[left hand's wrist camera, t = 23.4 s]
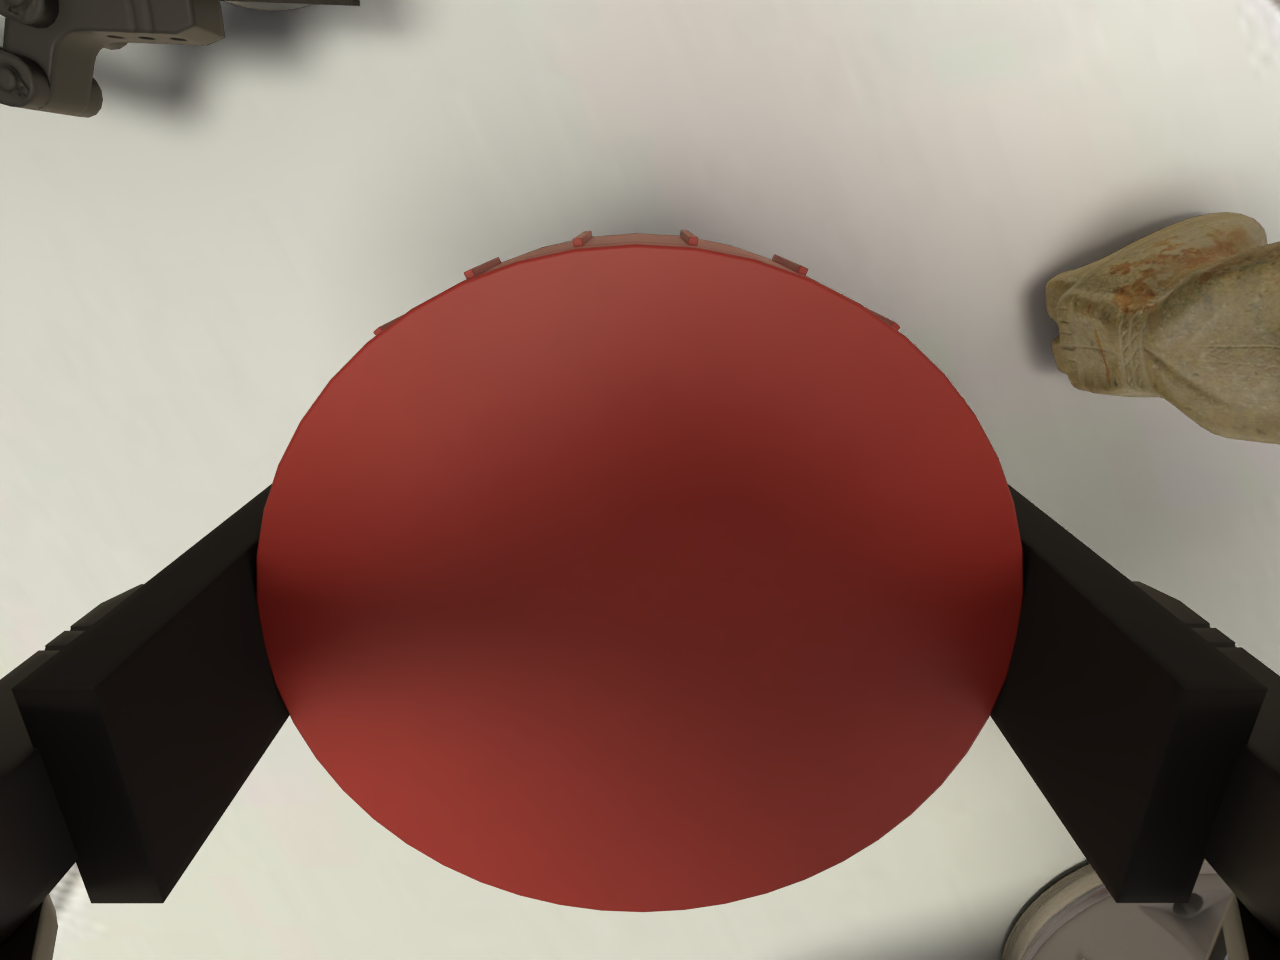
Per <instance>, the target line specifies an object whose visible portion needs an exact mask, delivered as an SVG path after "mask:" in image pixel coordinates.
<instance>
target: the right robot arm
mask: <svg viewBox="0 0 1280 960" xmlns="http://www.w3.org/2000/svg"><path fill="white" fill-rule="evenodd" d="M220 1H241V2H269V3H296V4H324V5H351V6H360V1H359V0H0V14H1V15H3V16H4V17H5V29H4V41H3V47H0V103H1V104H4V105H8V106H12V107H19V108H25V109H32V110H38V111H45V112H51V113H58V114H64V115H71V116H78V117H91V116H94V115H96V114H97V113H98V112H99V110H100V109H101V106H102V101H103V98H102V92H101V89H100V87H99V85H98V83H97V81H96V80H95V79H94V78H93V70H94V63H95V59H96V56H97V54H98V52H99V51H100V50H101V49H102V48H103V47H104V48H107V49H111V50H114V49H120V48H122V47H123V46H125V45H126V44H127V42H130V43H157V44H187V45H209V44H211V43H213V42H216V41H218V40H220V39H222V38H225V33H224V26H223V19H222V12H221V5H220Z"/></svg>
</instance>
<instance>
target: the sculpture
mask: <svg viewBox="0 0 1280 960" xmlns="http://www.w3.org/2000/svg"><path fill="white" fill-rule="evenodd" d="M1045 296H1046V309H1047V313H1048V315H1049V317H1051V318H1052V319H1053V320H1054V321H1055V322H1056V323H1057V325H1058V327H1059V336H1058V337H1057V338H1056V339H1055V340H1054V341H1053V342H1052V350H1053V354H1054V357H1055V361H1056V364H1057V368H1058V369H1059V371H1061V372H1063V373H1066V374H1067V375H1068V377H1069V380H1070V382H1071V384H1072V385H1073V386H1074V387H1075V388H1077V389H1079V390H1084V391H1090V392H1092V393H1098V394H1108V395H1117V396H1127V397H1161V398H1164V399H1166V400H1167V401H1169V402H1170V403H1171V404H1173V405H1174V406H1175V407H1177V408H1178V409H1179V410H1180V411H1182V412H1183V413H1184V414H1185V415H1187V416H1188V417H1189V418H1191V419H1192V420H1193V421H1195V422H1196V423H1197V424H1198V425H1200V426H1201V427H1203V428H1205V429H1206V430H1208V431H1210V432H1211V433H1213V434H1216V435H1219V436H1223V437H1226V438H1232V439H1238V440H1247V441H1255V442H1263V443H1272V444H1280V242H1276V243H1272V244H1268V245H1267V238H1266V234H1265V231H1264V229H1263V227H1262V226H1261V225H1260V224H1259V223H1258V222H1257V221H1256V220H1254V219H1253V218H1251V217H1248V216H1245V215H1242V214H1238V213H1229V212H1223V213H1212V214H1206V215H1201V216H1197V217H1192V218H1189V219H1186V220H1183V221H1180V222H1178V223H1175V224H1172V225H1170V226H1167V227H1165V228H1163V229H1161V230H1159V231H1156V232H1154V233H1152V234H1150V235H1148V236H1146V237H1144V238H1141V239H1139V240H1137V241H1135V242H1133V243H1131V244H1129V245H1127V246H1126V247H1124V248H1122V249H1120V250H1119V251H1117V252H1115V253H1113V254H1110V255H1108V256H1106V257H1104V258H1102V259H1100V260H1098V261H1096V262H1093V263H1090V264H1088V265H1085V266H1082V267H1080V268H1078V269H1075V270H1069V271H1065V272H1062V273H1060V274H1058V275H1056V276H1054V277H1053V278H1052V279H1050V280H1049V281H1048V282H1047V284H1046V289H1045Z"/></svg>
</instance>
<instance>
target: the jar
mask: <svg viewBox="0 0 1280 960" xmlns="http://www.w3.org/2000/svg"><path fill="white" fill-rule="evenodd" d="M226 2H229V3H232V4H236V5H239V6H242V7H246V8H252V9H258V10H274V11H282V10H289V9H297V8H301V7H304V6H308V5H311V4H296V3H269V2H241V1H226Z"/></svg>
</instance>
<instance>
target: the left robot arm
mask: <svg viewBox="0 0 1280 960" xmlns="http://www.w3.org/2000/svg"><path fill="white" fill-rule="evenodd" d="M271 486H272V484H271V485H270V486H269V487H267V488H266V489H265V490H263V491H262V492H261V493H260V494H258V495H257V496H256V497H255V498H253V499H252V500H251V501H250V502H248V503H247V504H246V505H244V506H243V507H242V508H241V509H239V510H238V511H237V512H236V513H234V514H233V515H232V516H230V517H229V518H228V519H227V520H225V521H224V522H223V523H222V524H220V525H219V526H218V527H216V528H215V529H214V530H213V531H211V532H210V533H209V534H208V535H206V536H205V537H204V538H202V539H201V540H200V541H199V542H197V543H196V544H195V545H194V546H192V547H191V548H190V549H188V550H187V551H186V552H185V553H183V554H182V555H181V556H180V557H178V558H177V559H176V560H175V561H173V562H172V563H171V564H169V565H168V566H167V567H166V568H164V569H163V570H162V571H161V572H159V573H158V574H157V575H155V576H154V577H153V578H152V579H150V580H149V581H148V582H147V583H145V584H141V585H139V586H136V587H134V588H132V589H130V590H128V591H126V592H124V593H122V594H120V595H118V596H116V597H113V598H111V599H109V600H107V601H105V602H103V603H101V604H100V605H98V606H97V607H96V608H94V609H93V610H92V611H90V612H89V613H88V614H86V615H85V616H84V617H82V618H81V619H80V620H78V621H77V622H76V623H74V624H73V625H72V626H71V630H70V631H64V632H63V633H61V634H60V635H59V636H57V637H56V638H55V639H53V640H52V641H51V642H49V643H48V644H47V645H45V647H46V648H45V650H44V651H38V652H36V653H35V654H34V655H32V656H31V657H30V658H28V659H27V660H26V661H24V662H23V663H22V664H20V665H19V666H18V667H16V668H15V669H14V670H13V671H11V672H10V673H9V674H7V675H6V676H5V677H3V678H2V679H1V680H0V960H52V958H53V952H54V946H55V941H56V935H57V929H58V924H57V917H56V910H55V908H54V905H53V903H52V900H51V898H50V895H49V893H50V892H51V890H52V889H53V888H54V887H55V886H56V885H57V883H58V882H59V881H60V880H61V879H62V877H63V876H64V875H65V874H66V873H67V872H68V870H69V869H70V868H71V867H72V866H73V864H74V863H75V862H76V864H77V866H78V869H79V872H80V874H81V877H82V880H83V882H84V885H85V888H86V890H87V893H88V896H89V898H90V901H91V903H164V901H165V900H166V898H167V897H168V895H169V894H170V892H171V891H172V889H173V888H174V886H175V885H176V883H177V882H178V880H179V879H180V877H181V876H182V874H183V873H184V871H185V870H186V868H187V867H188V865H189V864H190V862H191V861H192V859H193V858H194V857H195V855H196V854H197V852H198V851H199V849H200V848H201V846H202V845H203V843H204V842H205V840H206V839H207V837H208V836H209V834H210V833H211V831H212V830H213V828H214V827H215V825H216V824H217V822H218V821H219V819H220V818H221V816H222V815H223V813H224V812H225V810H226V809H227V807H228V806H229V804H230V803H231V801H232V800H233V798H234V797H235V796H236V794H237V793H238V791H239V790H240V788H241V787H242V785H243V784H244V782H245V781H246V779H247V778H248V776H249V775H250V773H251V772H252V770H253V769H254V767H255V766H256V764H257V763H258V761H259V760H260V758H261V757H262V755H263V754H264V752H265V751H266V749H267V748H268V746H269V745H270V743H271V742H272V740H273V739H274V738H275V736H276V735H277V733H278V732H279V730H280V729H281V727H282V726H283V724H284V723H285V721H286V720H287V718H288V717H289V715H290V714H289V712H288V710H287V708H286V706H285V704H284V701H283V699H282V697H281V695H280V693H279V691H278V689H277V686H276V684H275V681H274V677H273V674H272V671H271V668H270V664H269V659H268V655H267V651H266V647H265V642H264V638H263V633H262V628H261V623H260V618H259V613H258V606H257V551H258V544H259V538H260V531H261V525H262V519H263V512H264V508H265V505H266V502H267V499H268V496H269V493H270V489H271ZM1008 487H1009V490H1010V493H1011V496H1012V499H1013V501H1014V505H1015V511H1016V516H1017V522H1018V528H1019V533H1020V539H1021V544H1022V555H1023V601H1022V609H1021V614H1020V619H1019V624H1018V629H1017V634H1016V639H1015V644H1014V648H1013V652H1012V656H1011V661H1010V665H1009V669H1008V674H1007V677H1006V680H1005V682H1004V684H1003V687H1002V689H1001V691H1000V694H999V696H998V698H997V700H996V703H995V705H994V707H993V709H992V712H991V714H990V716H991V717H992V719H993V720H994V722H995V723H996V725H997V726H998V728H999V729H1000V731H1001V732H1002V734H1003V735H1004V737H1005V738H1006V740H1007V741H1008V743H1009V744H1010V746H1011V747H1012V749H1013V750H1014V752H1015V753H1016V755H1017V756H1018V758H1019V759H1020V761H1021V762H1022V764H1023V765H1024V766H1025V768H1026V769H1027V771H1028V772H1029V774H1030V775H1031V777H1032V778H1033V780H1034V781H1035V783H1036V784H1037V786H1038V787H1039V789H1040V790H1041V792H1042V793H1043V795H1044V796H1045V798H1046V799H1047V801H1048V802H1049V804H1050V805H1051V807H1052V808H1053V810H1054V811H1055V813H1056V814H1057V816H1058V817H1059V819H1060V820H1061V822H1062V823H1063V825H1064V826H1065V827H1066V829H1067V830H1068V832H1069V833H1070V835H1071V836H1072V838H1073V839H1074V841H1075V842H1076V844H1077V845H1078V847H1079V848H1080V850H1081V851H1082V853H1083V854H1084V856H1085V857H1086V859H1087V860H1088V862H1089V863H1090V864H1088V865H1086V866H1084V867H1082V868H1080V869H1078V870H1076V871H1075V872H1073V873H1071V874H1069V875H1068V876H1066V877H1064V878H1063V879H1061V880H1060V881H1058V882H1057V883H1055V884H1054V885H1053V886H1051V887H1050V888H1049V889H1048V890H1046V891H1045V892H1044V893H1043V894H1041V895H1040V896H1039V897H1038V898H1037V899H1036V900H1035V901H1034V902H1033V903H1032V904H1031V905H1030V906H1029V907H1028V908H1027V910H1026V911H1025V912H1024V913H1023V914H1022V916H1021V917H1020V918H1019V920H1018V921H1017V922H1016V924H1015V926H1014V928H1013V929H1012V931H1011V933H1010V935H1009V937H1008V939H1007V942H1006V944H1005V947H1004V951H1003V954H1002V960H1280V676H1279V675H1277V674H1276V673H1275V672H1273V671H1272V670H1271V669H1269V668H1268V667H1267V666H1265V665H1264V664H1263V663H1261V662H1260V661H1259V660H1257V659H1256V658H1255V657H1254V656H1252V655H1251V654H1250V653H1248V652H1247V651H1246V650H1244V649H1243V648H1236V647H1235V642H1234V641H1232V640H1231V639H1230V638H1228V637H1227V636H1226V635H1224V634H1223V633H1222V632H1220V631H1219V630H1218V629H1216V628H1210V626H1209V625H1210V623H1208V622H1207V621H1206V620H1204V619H1203V618H1202V617H1200V616H1199V615H1198V614H1196V613H1195V612H1194V611H1192V610H1191V609H1190V608H1188V607H1187V606H1186V605H1184V604H1183V603H1182V602H1180V601H1179V600H1177V599H1175V598H1173V597H1170V596H1168V595H1166V594H1164V593H1162V592H1160V591H1158V590H1156V589H1154V588H1152V587H1149V586H1147V585H1145V584H1143V583H1141V582H1132V581H1130V580H1129V579H1128V578H1127V577H1125V576H1124V575H1123V574H1121V573H1120V572H1119V571H1118V570H1116V569H1115V568H1114V567H1113V566H1111V565H1110V564H1109V563H1107V562H1106V561H1105V560H1104V559H1102V558H1101V557H1100V556H1099V555H1097V554H1096V553H1095V552H1094V551H1092V550H1091V549H1090V548H1088V547H1087V546H1086V545H1085V544H1083V543H1082V542H1081V541H1080V540H1078V539H1077V538H1076V537H1074V536H1073V535H1072V534H1071V533H1069V532H1068V531H1067V530H1066V529H1064V528H1063V527H1062V526H1060V525H1059V524H1058V523H1057V522H1055V521H1054V520H1053V519H1052V518H1050V517H1049V516H1048V515H1046V514H1045V513H1044V512H1043V511H1041V510H1040V509H1039V508H1038V507H1036V506H1035V505H1034V504H1033V503H1031V502H1030V501H1029V500H1027V499H1026V498H1025V497H1024V496H1022V495H1021V494H1020V493H1019V492H1017V491H1016V490H1015V489H1013V488H1012V487H1011V486H1010V485H1008Z"/></svg>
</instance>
